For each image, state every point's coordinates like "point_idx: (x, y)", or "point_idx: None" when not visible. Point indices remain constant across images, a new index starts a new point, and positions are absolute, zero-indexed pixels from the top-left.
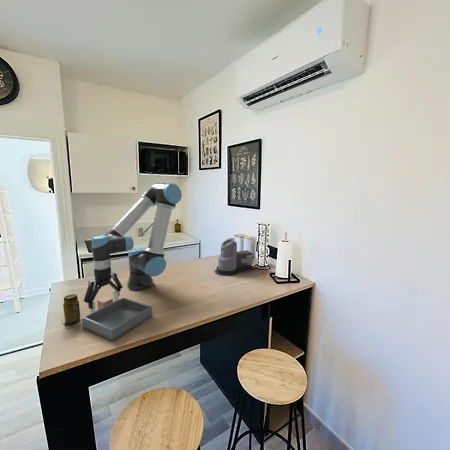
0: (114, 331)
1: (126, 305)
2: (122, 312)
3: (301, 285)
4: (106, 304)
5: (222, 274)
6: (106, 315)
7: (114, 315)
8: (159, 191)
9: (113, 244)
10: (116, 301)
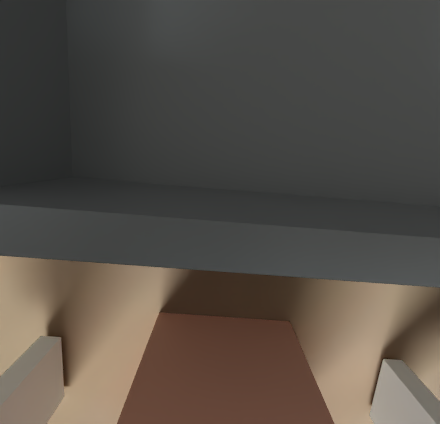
0: None
1: (54, 105)
2: (248, 9)
3: None
4: (270, 397)
5: None
6: (416, 185)
7: (377, 63)
8: None
9: None
10: (186, 236)
